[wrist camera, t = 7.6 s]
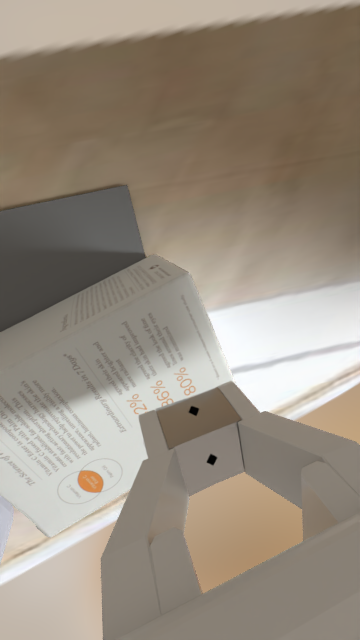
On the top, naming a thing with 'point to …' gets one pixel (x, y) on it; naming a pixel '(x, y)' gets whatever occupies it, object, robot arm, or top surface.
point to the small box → (98, 387)
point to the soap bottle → (5, 523)
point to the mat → (63, 249)
